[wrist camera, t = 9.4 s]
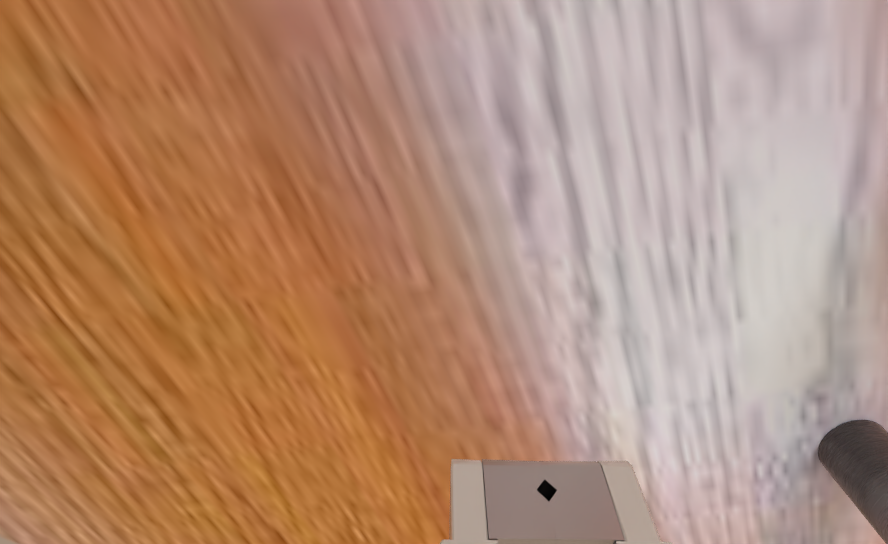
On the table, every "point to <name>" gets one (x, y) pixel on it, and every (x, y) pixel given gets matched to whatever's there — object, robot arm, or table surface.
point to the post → (860, 468)
